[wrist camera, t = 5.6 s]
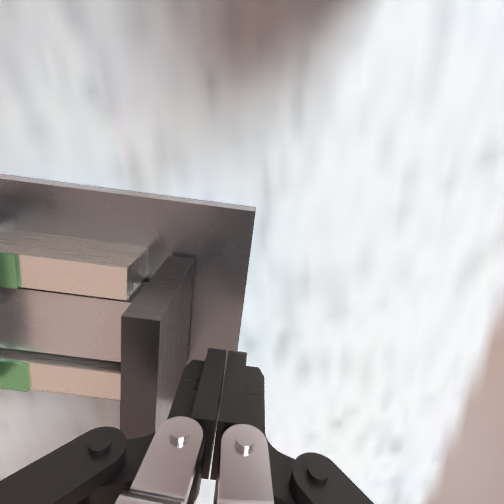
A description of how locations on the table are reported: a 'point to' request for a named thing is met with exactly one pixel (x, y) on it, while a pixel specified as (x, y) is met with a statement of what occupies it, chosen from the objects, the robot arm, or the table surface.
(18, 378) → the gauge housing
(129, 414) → the plunger
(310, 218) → the table surface
